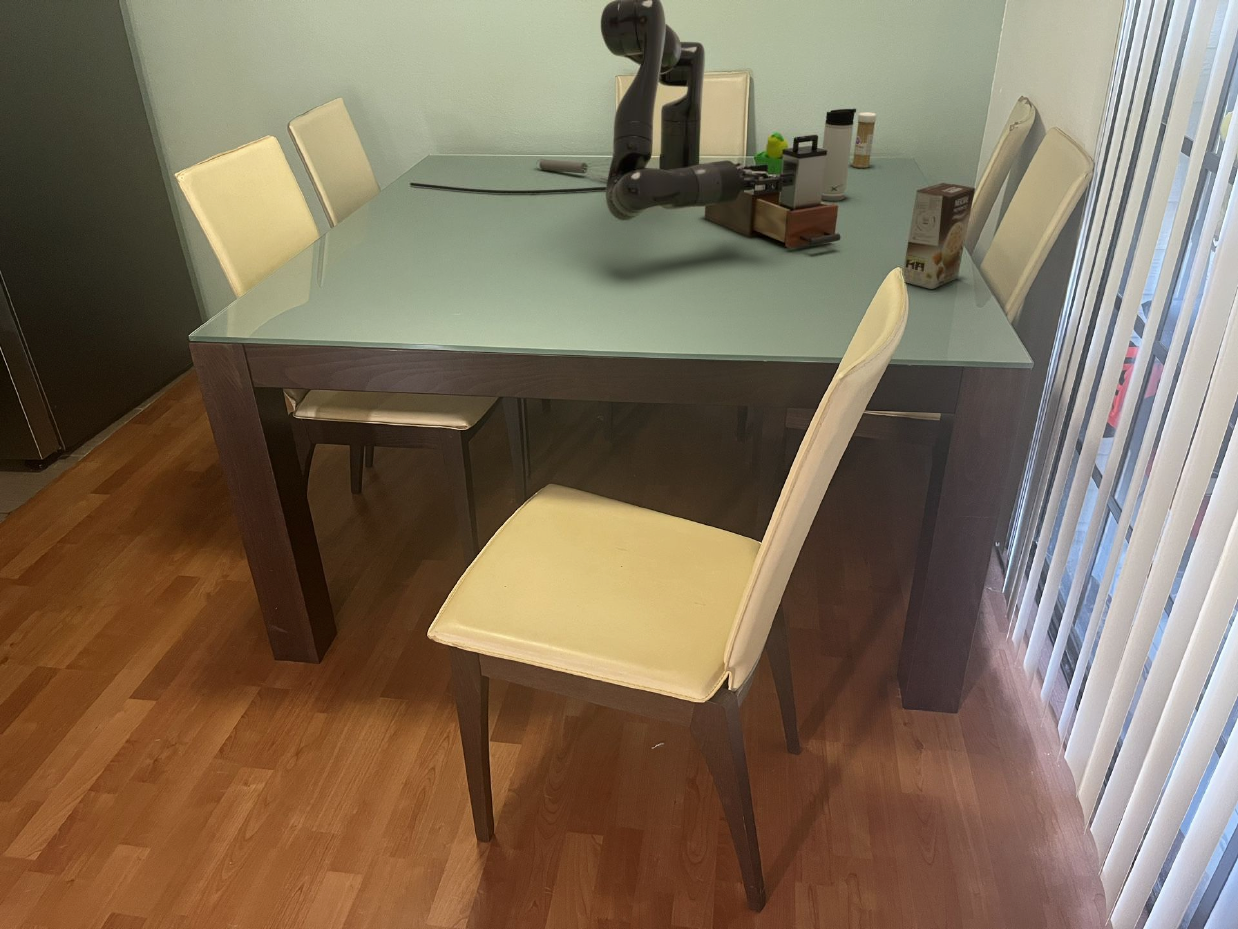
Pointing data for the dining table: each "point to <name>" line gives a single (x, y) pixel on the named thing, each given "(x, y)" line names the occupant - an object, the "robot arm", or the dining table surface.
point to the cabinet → (737, 213)
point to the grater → (803, 174)
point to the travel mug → (837, 153)
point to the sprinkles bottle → (864, 140)
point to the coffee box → (937, 234)
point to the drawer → (795, 222)
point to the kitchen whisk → (568, 166)
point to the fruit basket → (772, 154)
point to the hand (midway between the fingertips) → (779, 174)
